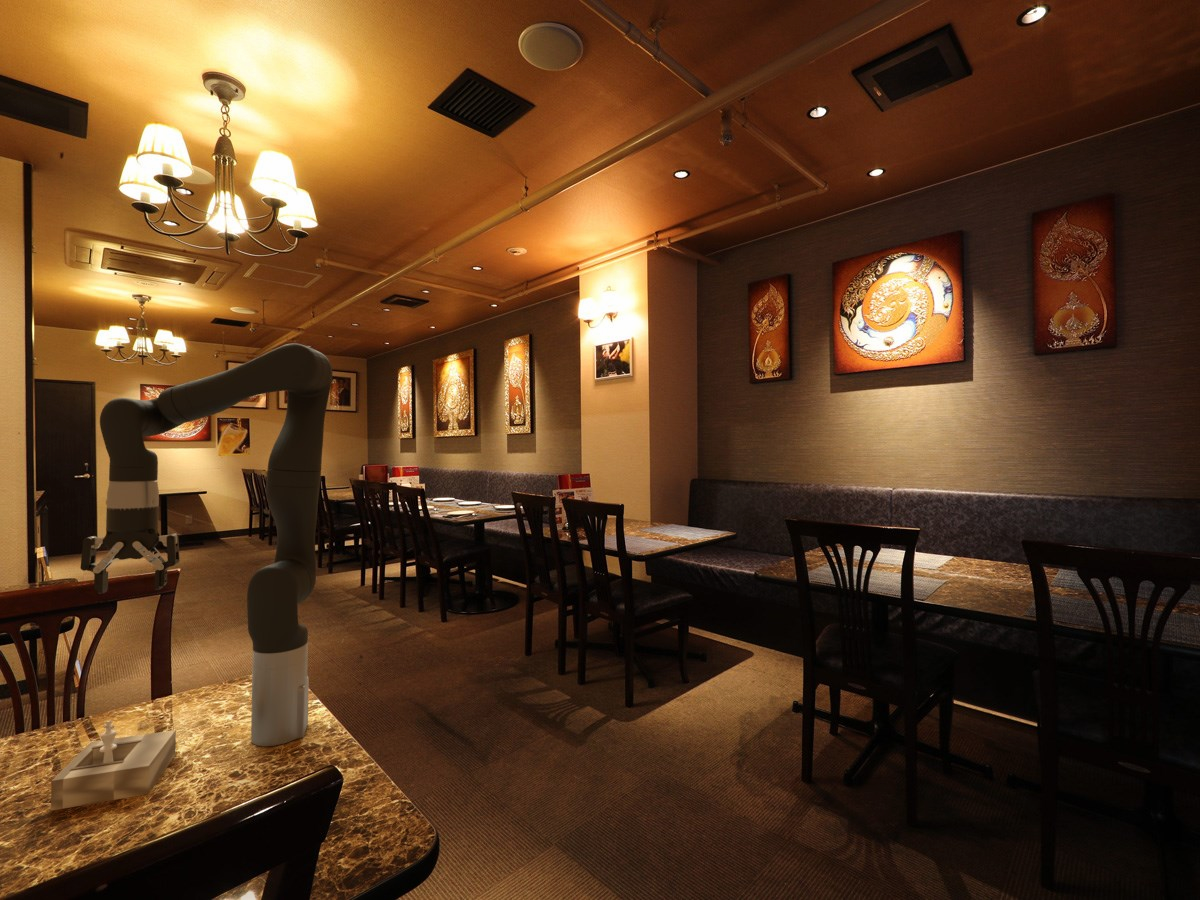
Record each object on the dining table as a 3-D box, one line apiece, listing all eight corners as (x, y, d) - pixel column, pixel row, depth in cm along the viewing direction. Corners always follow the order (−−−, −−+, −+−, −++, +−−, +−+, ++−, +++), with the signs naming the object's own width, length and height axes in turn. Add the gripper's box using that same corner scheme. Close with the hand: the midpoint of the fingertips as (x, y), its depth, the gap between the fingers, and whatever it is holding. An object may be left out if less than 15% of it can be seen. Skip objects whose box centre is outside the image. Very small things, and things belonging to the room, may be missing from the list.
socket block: (175, 755, 99) (175, 729, 99) (148, 794, 88) (148, 764, 88) (90, 767, 95) (91, 740, 95) (50, 810, 83) (51, 779, 83)
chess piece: (102, 793, 88) (104, 730, 88) (79, 788, 89) (80, 726, 89) (135, 775, 93) (136, 716, 93) (112, 771, 94) (113, 712, 94)
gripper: (185, 502, 110) (183, 583, 110) (94, 503, 105) (92, 588, 105) (172, 506, 103) (170, 592, 103) (74, 507, 98) (72, 598, 98)
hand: (131, 590), depth 104 cm, fingers open, 8 cm apart
